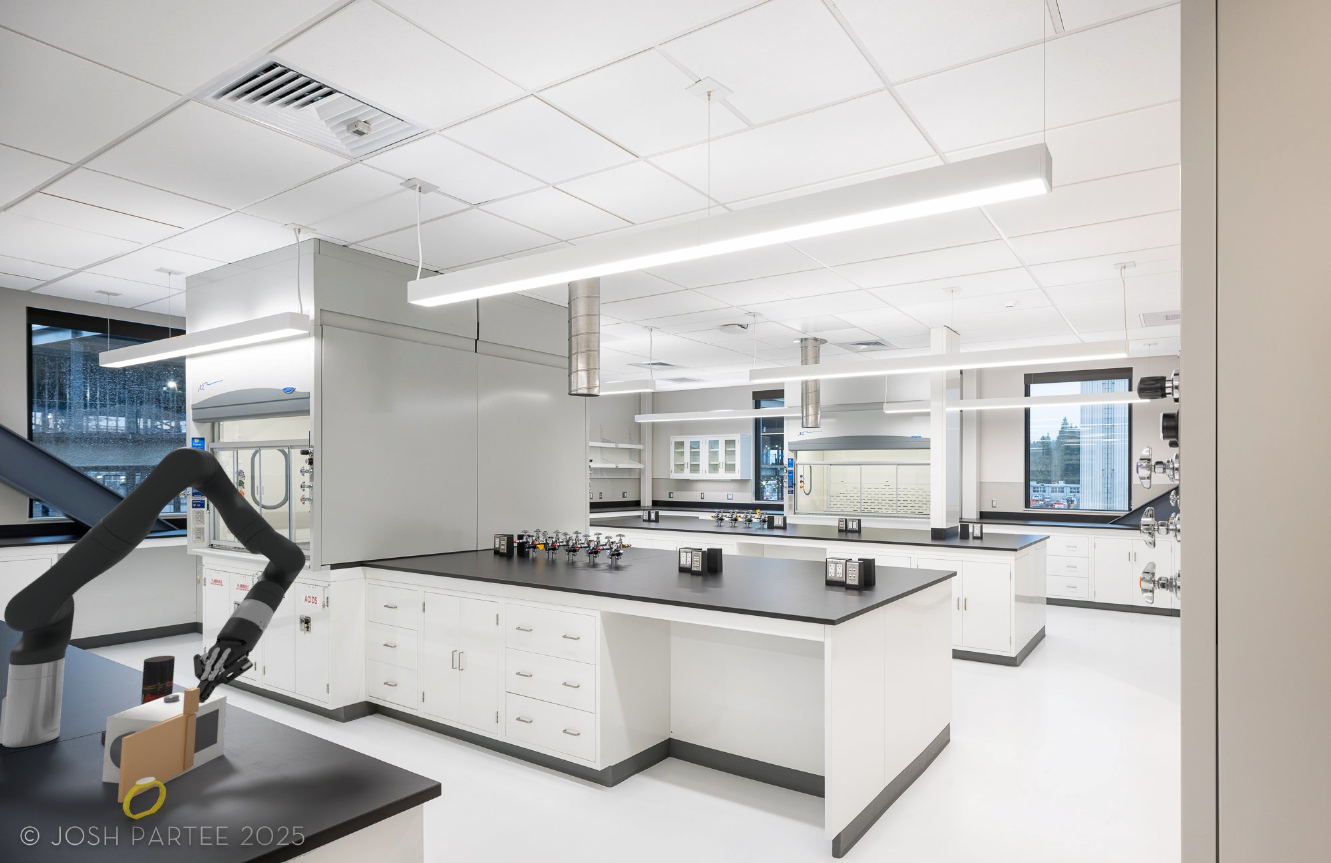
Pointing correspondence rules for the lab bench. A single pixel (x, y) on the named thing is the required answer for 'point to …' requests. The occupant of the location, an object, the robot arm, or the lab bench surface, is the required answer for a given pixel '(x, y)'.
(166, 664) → the deodorant
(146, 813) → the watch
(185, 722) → the side door
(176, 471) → the robot arm
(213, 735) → the box
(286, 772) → the lab bench surface
